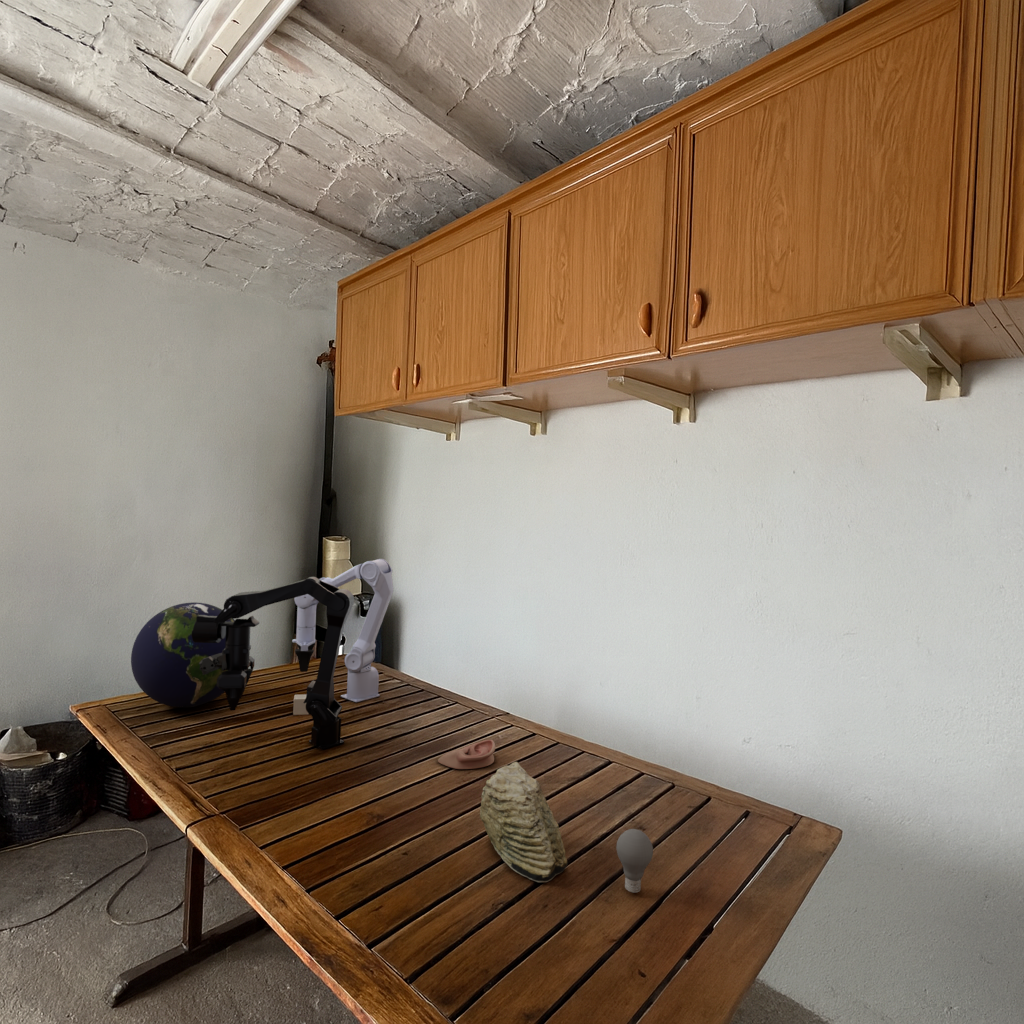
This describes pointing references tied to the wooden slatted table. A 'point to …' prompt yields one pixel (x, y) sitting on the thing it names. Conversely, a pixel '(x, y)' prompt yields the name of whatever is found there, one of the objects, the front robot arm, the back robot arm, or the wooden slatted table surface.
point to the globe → (176, 657)
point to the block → (299, 705)
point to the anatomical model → (470, 756)
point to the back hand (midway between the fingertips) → (304, 668)
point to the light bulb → (634, 857)
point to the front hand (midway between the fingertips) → (235, 704)
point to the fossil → (522, 824)
